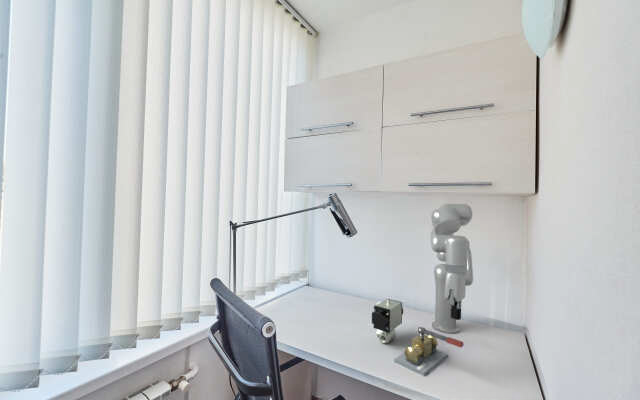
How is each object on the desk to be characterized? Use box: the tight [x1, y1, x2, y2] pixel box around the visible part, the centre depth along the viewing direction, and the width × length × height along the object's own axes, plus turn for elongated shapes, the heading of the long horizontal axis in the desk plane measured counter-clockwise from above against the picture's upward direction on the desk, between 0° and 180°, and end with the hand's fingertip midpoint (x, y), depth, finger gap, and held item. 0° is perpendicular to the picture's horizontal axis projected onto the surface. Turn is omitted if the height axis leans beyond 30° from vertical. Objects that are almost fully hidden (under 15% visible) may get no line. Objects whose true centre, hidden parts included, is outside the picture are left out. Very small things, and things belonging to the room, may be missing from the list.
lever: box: [417, 326, 464, 348], centre depth 103 cm, size 16×3×1 cm, turn 43°
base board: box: [393, 349, 448, 377], centre depth 108 cm, size 20×12×1 cm, turn 133°
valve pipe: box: [403, 332, 438, 366], centre depth 108 cm, size 17×5×9 cm, turn 133°
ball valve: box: [371, 298, 404, 344], centre depth 123 cm, size 18×8×18 cm, turn 141°
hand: (455, 318), depth 104 cm, fingers closed
